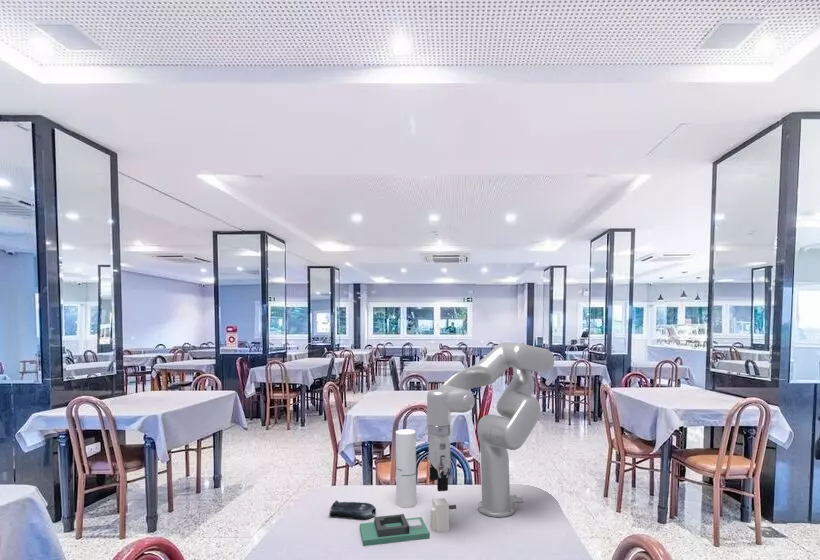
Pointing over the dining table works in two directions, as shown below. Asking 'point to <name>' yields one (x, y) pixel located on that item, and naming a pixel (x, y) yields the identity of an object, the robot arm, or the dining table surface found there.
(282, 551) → the dining table surface
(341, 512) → the electronic device
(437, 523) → the keyed plug
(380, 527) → the circuit board
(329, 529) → the dining table surface
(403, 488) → the cylindrical container
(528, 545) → the dining table surface
